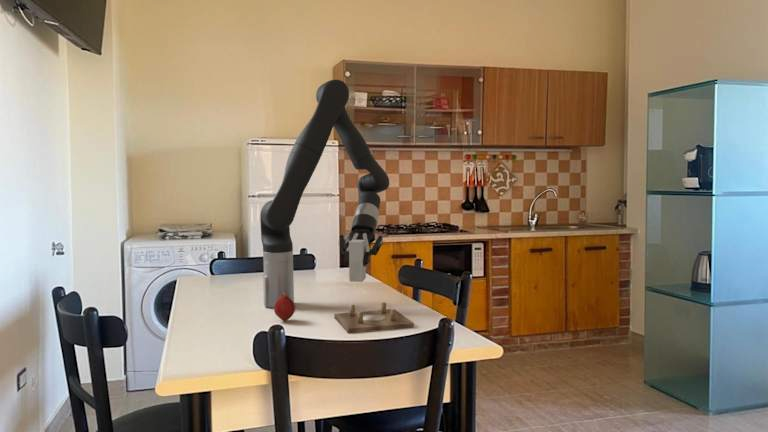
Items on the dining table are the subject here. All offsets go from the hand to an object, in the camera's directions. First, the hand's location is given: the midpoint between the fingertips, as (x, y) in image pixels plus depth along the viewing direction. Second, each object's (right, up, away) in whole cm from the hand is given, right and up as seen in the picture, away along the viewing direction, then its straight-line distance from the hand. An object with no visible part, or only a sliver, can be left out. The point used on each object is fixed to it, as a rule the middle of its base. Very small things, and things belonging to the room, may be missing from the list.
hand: (356, 264), depth 184 cm
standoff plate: (+5, -15, -13) cm, 20 cm away
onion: (-20, -16, -9) cm, 27 cm away
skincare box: (0, -5, +2) cm, 6 cm away
